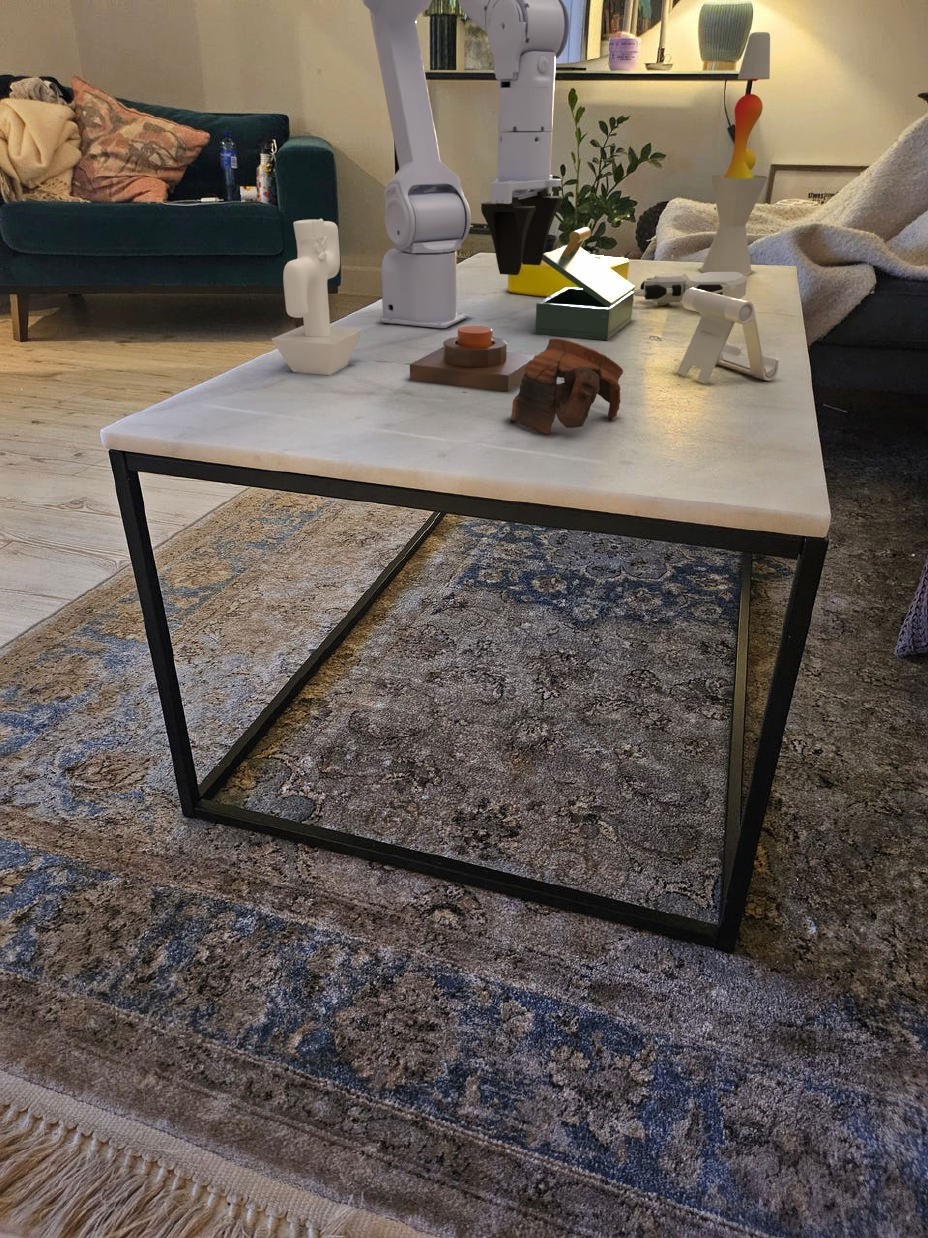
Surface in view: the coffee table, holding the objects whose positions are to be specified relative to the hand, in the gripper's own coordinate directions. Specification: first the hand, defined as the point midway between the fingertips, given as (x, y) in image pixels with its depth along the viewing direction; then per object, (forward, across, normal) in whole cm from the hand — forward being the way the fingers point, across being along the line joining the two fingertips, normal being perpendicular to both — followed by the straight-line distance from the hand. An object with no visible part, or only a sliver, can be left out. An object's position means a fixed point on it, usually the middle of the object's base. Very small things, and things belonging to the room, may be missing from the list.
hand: (520, 269), depth 99 cm
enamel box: (+9, +15, -4) cm, 18 cm away
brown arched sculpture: (+9, -25, -13) cm, 30 cm away
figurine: (+9, -17, +17) cm, 26 cm away
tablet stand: (+9, -2, -24) cm, 25 cm away
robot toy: (+9, +35, -14) cm, 39 cm away
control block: (+9, -13, 0) cm, 16 cm away
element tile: (+9, +40, +6) cm, 42 cm away
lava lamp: (+9, +69, -14) cm, 71 cm away
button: (+6, -13, 0) cm, 14 cm away
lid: (+3, +15, -4) cm, 16 cm away
